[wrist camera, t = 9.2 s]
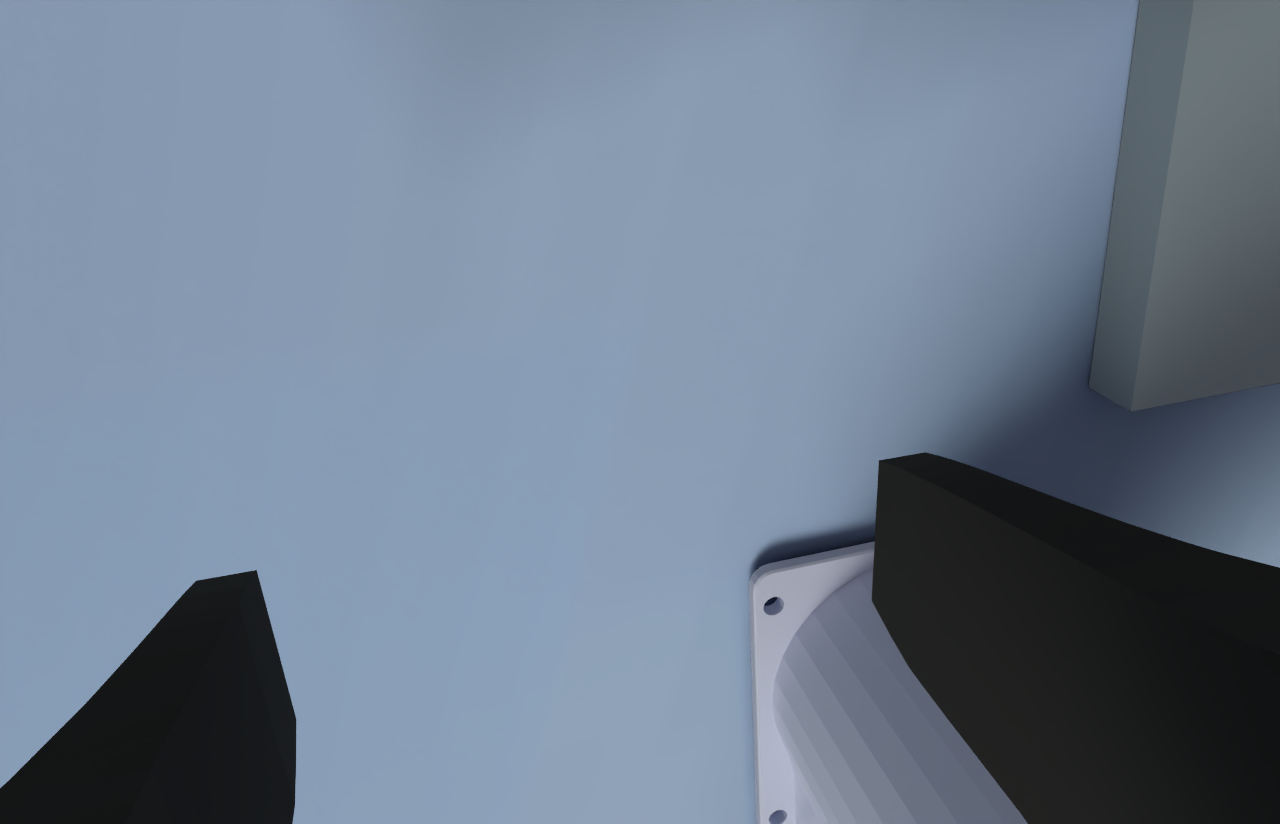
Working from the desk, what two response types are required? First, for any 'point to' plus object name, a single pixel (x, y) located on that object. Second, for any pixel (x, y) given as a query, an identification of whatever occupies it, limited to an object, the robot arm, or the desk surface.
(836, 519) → the desk surface
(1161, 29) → the mount plate
